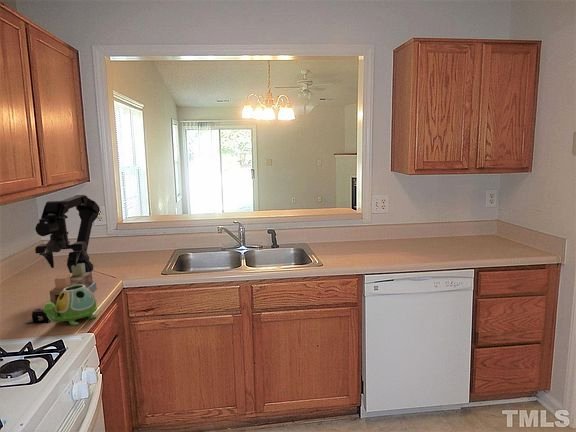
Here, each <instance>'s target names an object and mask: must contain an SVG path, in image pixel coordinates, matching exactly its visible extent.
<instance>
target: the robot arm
mask: <svg viewBox="0 0 576 432" xmlns="http://www.w3.org/2000/svg"><path fill="white" fill-rule="evenodd" d="M72 208H75V209H76V210H77V211H78V216H79V218H80V224H79V228H78V229H79V230H78V233H77V239H76V242H73V243H71V241H70V240H69V236H68V235H69V231H68V230H67V223H66V219H68V216H67V215H66V214H67V213H68V212H69V210H71V209H72ZM100 211H101V208H100V206H99V204H98V203H97V202H96V201H95V200H93V199H90V198H89V197H88V196H87V195H85V194H76V195H73V196H71V197H68V198H66V199H62V200H48V201H47V202H46V203H45V205H44V207H43V211H42V214H41V217H40V219H38V221H39V222H38V223H36V225H35V228H34V229H35V232H36V234H37V235H39V236H40V237H47V236H49V235H50V236H49V241H48V242H47V243H40V244H38V245H36V246H35V248H34V252H35V254H38V255H39V256H43V258H45V259H46V261H47V263H48V264H49V266H50V269H54V266H55V263H54V262H55V261H54V254H53V253H59V252H61V251H62V250H71V251H70V252H68V254H67V255H68V257H67V259H66V267H67V269H68V271H69V273H70V274H72V268H71V266H72V265H74V267H76V265H77V264H79V263H85V270H86V272H93V271H94V264H93V263H92V262H91V261H90V256H89V254H88V246H89V244H90V237H91V232H92V227H93V224H94V222H95V221H96V220H97V218H98V216H99V213H100ZM70 243H71V244H70Z"/></svg>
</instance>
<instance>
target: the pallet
mask: <svg viewBox="0 0 576 432" xmlns="http://www.w3.org/2000/svg"><path fill="white" fill-rule="evenodd" d="M92 272H93V271H92ZM92 272H85V273H84V274H83V275H71V276H70V281H71V285H70V286H74V285H79V284H81V285H85V287H86V288H87V287H89V286H90V285H91V284H92V283H94V281H93V273H92ZM70 286H69V287H70ZM63 289H64V288H61V289H56V286H55V287H54V288H52V289H50V291H49V296H50V302H52V303H53V304H56V302H57V299H58V297H59V295H60V293H61V292H62V291H63ZM70 290H74V289H70Z"/></svg>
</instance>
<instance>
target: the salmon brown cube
mask: <svg viewBox="0 0 576 432" xmlns="http://www.w3.org/2000/svg"><path fill="white" fill-rule="evenodd" d="M70 277H71V276H70V274H69V275H68V274H67V275H66V274H65V275H58V276H57V277H55V278H54V286H55V287H56V289H61V288H67V287H69V286H70V285H71V281H70Z"/></svg>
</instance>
